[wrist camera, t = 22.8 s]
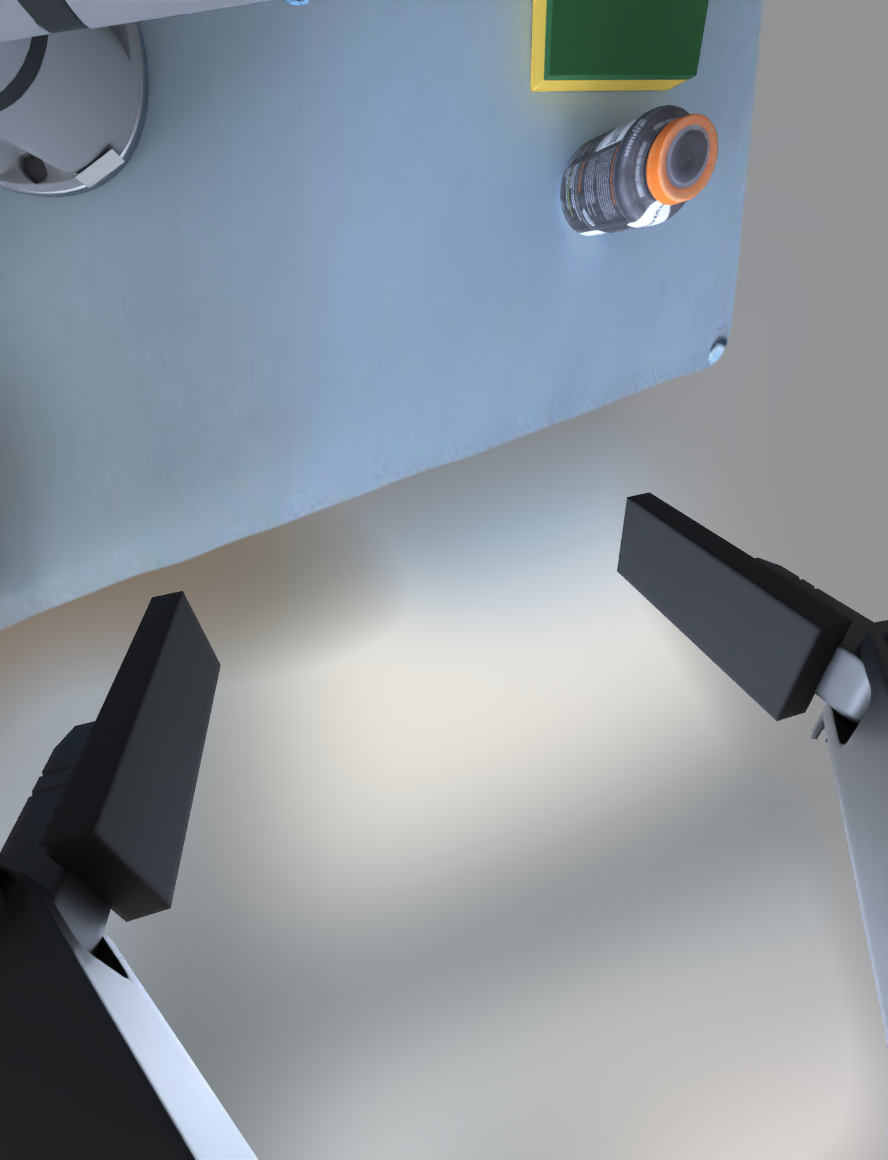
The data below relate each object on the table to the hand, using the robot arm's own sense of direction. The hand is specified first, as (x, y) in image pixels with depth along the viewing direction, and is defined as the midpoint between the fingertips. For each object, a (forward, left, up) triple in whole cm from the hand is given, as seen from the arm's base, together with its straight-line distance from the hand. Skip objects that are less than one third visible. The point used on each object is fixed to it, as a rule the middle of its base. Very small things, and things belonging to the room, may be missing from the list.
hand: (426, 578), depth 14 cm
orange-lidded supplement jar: (+7, +24, -32) cm, 41 cm away
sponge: (0, +30, -32) cm, 44 cm away
